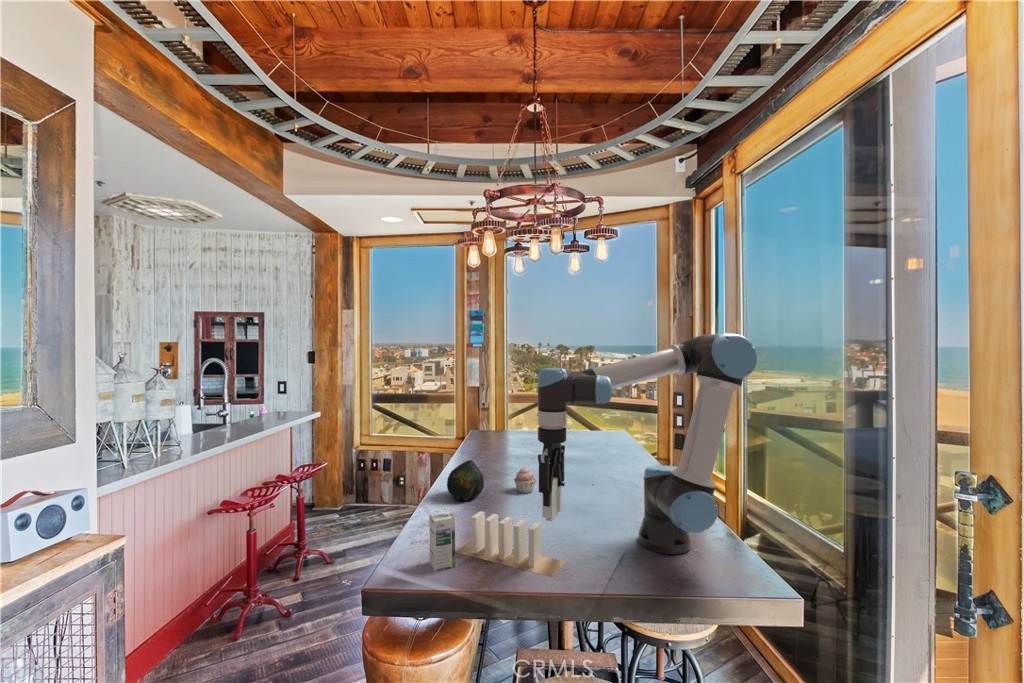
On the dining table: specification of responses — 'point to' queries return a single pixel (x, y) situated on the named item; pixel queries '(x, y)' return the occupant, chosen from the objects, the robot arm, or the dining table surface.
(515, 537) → the domino
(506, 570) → the dining table surface
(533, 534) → the domino
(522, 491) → the cupcake
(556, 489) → the domino
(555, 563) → the board
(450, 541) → the syrup box
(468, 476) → the squash
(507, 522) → the domino
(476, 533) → the domino
